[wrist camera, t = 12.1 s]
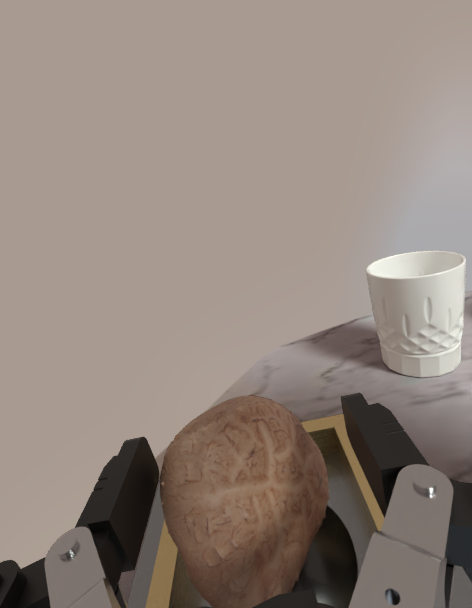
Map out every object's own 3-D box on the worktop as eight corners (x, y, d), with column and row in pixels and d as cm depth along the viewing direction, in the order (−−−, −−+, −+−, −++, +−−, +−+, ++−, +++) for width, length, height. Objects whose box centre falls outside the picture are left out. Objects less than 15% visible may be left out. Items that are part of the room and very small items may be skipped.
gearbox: (384, 417, 26) (378, 364, 25) (714, 909, 8) (768, 828, 7) (183, 458, 27) (165, 410, 26) (85, 961, 9) (6, 902, 8)
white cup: (471, 344, 33) (470, 247, 29) (462, 389, 27) (460, 276, 24) (388, 337, 38) (379, 254, 34) (366, 374, 32) (353, 279, 29)
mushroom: (304, 473, 19) (277, 357, 17) (388, 568, 14) (366, 418, 11) (185, 547, 17) (133, 424, 14) (231, 698, 11) (161, 542, 9)
